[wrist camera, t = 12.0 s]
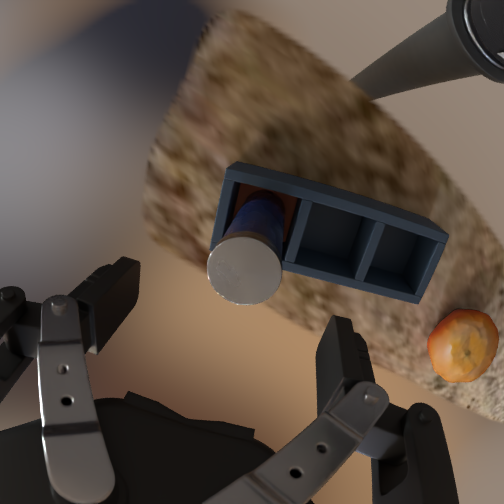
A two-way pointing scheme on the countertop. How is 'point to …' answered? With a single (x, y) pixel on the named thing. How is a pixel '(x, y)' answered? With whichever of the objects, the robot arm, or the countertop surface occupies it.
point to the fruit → (463, 345)
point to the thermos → (250, 251)
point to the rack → (340, 233)
